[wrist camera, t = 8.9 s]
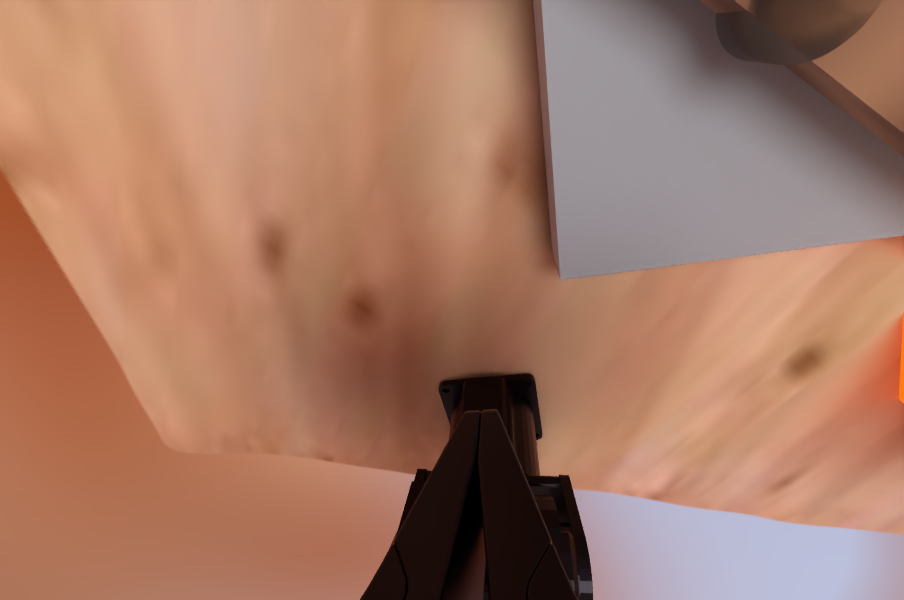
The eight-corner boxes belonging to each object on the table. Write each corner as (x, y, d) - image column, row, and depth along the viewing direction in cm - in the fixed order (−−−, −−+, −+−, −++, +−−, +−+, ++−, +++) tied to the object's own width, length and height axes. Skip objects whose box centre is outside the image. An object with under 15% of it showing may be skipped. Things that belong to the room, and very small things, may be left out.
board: (871, 202, 17) (954, 241, 14) (552, 249, 20) (562, 289, 17) (1158, -492, 8) (1551, -801, 5) (514, -237, 11) (522, -341, 8)
